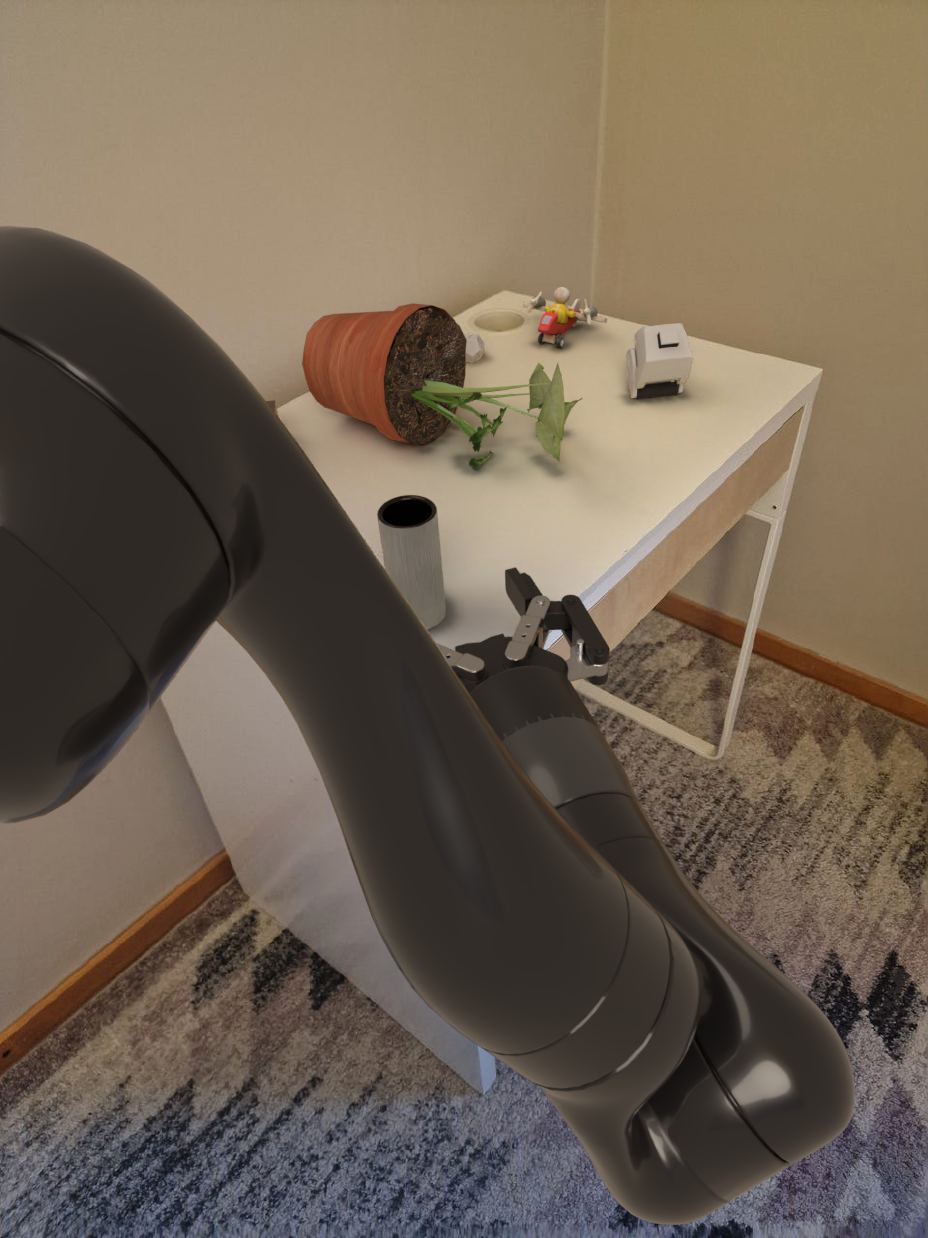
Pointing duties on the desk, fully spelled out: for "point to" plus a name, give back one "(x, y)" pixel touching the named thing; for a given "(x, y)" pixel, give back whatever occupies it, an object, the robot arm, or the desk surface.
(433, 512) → the grey cylindrical cup
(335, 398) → the potted plant
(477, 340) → the grey rock
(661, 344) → the white boxy gadget
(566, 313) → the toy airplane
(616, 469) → the desk surface
